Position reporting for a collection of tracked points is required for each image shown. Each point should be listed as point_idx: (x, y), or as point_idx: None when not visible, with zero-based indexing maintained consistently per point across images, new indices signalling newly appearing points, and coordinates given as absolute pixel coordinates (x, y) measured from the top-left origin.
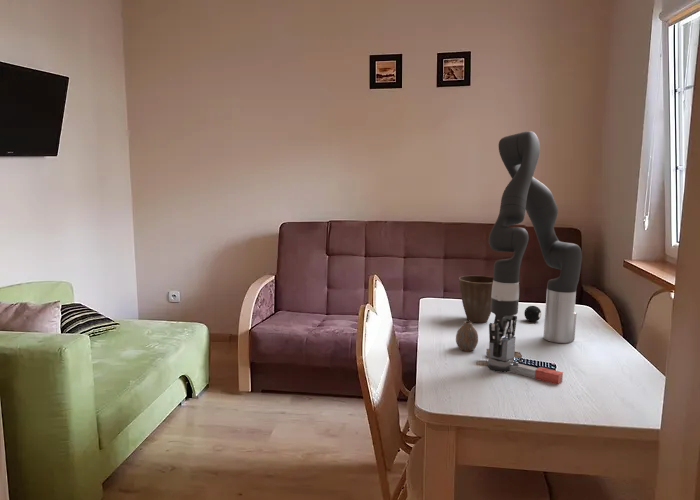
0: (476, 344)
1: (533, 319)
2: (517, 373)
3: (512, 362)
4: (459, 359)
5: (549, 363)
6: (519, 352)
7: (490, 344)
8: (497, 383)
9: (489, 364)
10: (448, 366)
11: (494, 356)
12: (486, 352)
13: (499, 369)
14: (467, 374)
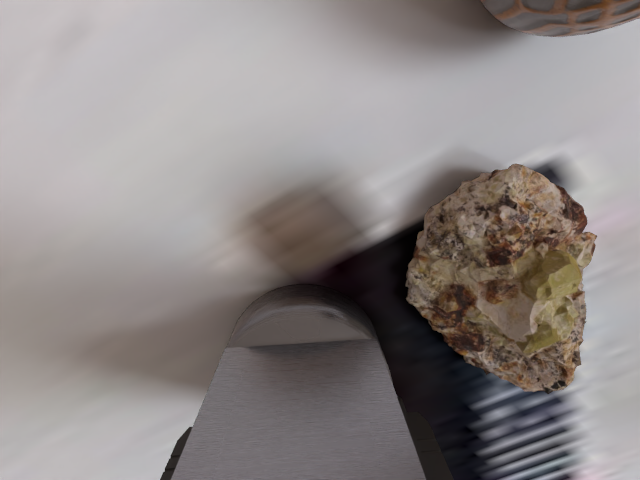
0: (570, 35)
1: None
2: None
3: None
4: (246, 64)
5: (562, 476)
6: (563, 386)
7: (188, 454)
8: (78, 444)
9: (234, 330)
10: (40, 92)
11: None
12: (468, 185)
13: None
14: (38, 275)
